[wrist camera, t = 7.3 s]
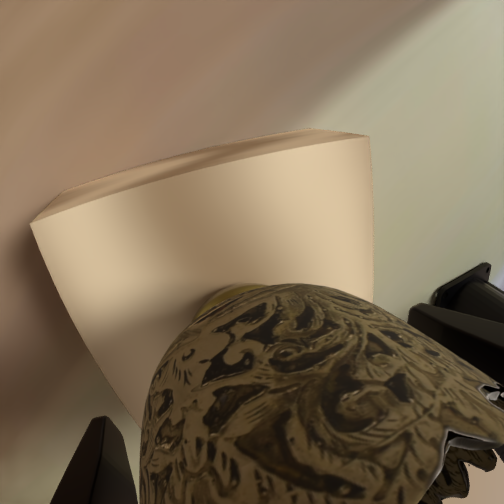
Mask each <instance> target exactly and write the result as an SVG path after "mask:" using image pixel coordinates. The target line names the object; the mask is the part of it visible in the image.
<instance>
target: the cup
mask: <svg viewBox="0 0 504 504" xmlns="http://www.w3.org/2000/svg"><path fill="white" fill-rule="evenodd" d="M503 444H504V386H502V385H501V384H499V383H498V382H496V381H495V380H493V379H492V378H490V377H489V376H487V375H486V374H484V373H483V372H481V371H480V370H478V369H477V368H475V367H474V366H472V365H471V364H469V363H468V362H466V361H465V360H463V359H462V358H460V357H459V356H457V355H456V354H454V353H453V352H451V351H450V350H448V349H447V348H445V347H443V346H442V345H440V344H439V343H437V342H436V341H434V340H433V339H431V338H429V337H428V336H426V335H425V334H423V333H422V332H420V331H418V330H417V329H415V328H414V327H412V326H410V325H409V324H407V323H406V322H404V321H402V320H401V319H399V318H398V317H396V316H394V315H392V314H391V313H389V312H387V311H385V310H384V309H382V308H380V307H378V306H376V305H374V304H372V303H370V302H368V301H366V300H364V299H362V298H359V297H357V296H354V295H352V294H349V293H346V292H344V291H341V290H338V289H335V288H330V287H326V286H320V285H313V284H304V283H287V284H278V285H271V286H270V285H265V284H260V283H242V284H237V285H233V286H230V287H227V288H225V289H223V290H221V291H219V292H217V293H215V294H214V295H212V296H211V297H210V298H209V299H207V300H206V301H205V302H204V303H203V304H202V305H201V307H200V308H199V309H198V310H197V312H196V314H195V315H194V317H193V319H192V321H191V323H190V324H189V325H188V326H187V327H186V328H185V329H184V330H183V331H182V332H181V333H180V334H179V335H178V336H177V337H176V339H175V340H174V341H173V342H172V343H171V345H170V346H169V348H168V349H167V351H166V352H165V354H164V355H163V357H162V359H161V361H160V363H159V364H158V366H157V368H156V371H155V373H154V375H153V377H152V381H151V384H150V388H149V391H148V395H147V399H146V402H145V408H144V414H143V421H142V432H141V446H140V476H139V492H140V504H442V501H441V500H443V499H445V498H449V497H457V498H465V497H467V495H468V493H469V487H470V485H469V478H468V471H467V469H466V466H465V464H464V462H467V463H470V464H472V465H473V466H475V467H477V468H480V469H482V470H485V472H488V471H491V470H493V469H494V468H495V466H496V462H497V457H496V455H495V453H494V452H493V450H492V449H494V448H498V447H500V446H502V445H503ZM469 466H470V465H469Z"/></svg>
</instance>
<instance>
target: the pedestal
mask: <svg viewBox="0 0 504 504" xmlns="http://www.w3.org/2000/svg"><path fill="white" fill-rule="evenodd" d="M30 226H31V228H32V231H33V234H34V236H35V239H36V242H37V244H38V247H39V249H40V252H41V254H42V256H43V259H44V261H45V264H46V266H47V268H48V271H49V273H50V275H51V277H52V280H53V282H54V284H55V286H56V288H57V290H58V292H59V295H60V297H61V299H62V301H63V303H64V305H65V307H66V309H67V311H68V313H69V315H70V317H71V319H72V321H73V322H74V324H75V326H76V328H77V330H78V332H79V334H80V335H81V337H82V339H83V341H84V343H85V344H86V346H87V348H88V350H89V351H90V353H91V355H92V356H93V358H94V360H95V361H96V363H97V365H98V366H99V368H100V370H101V371H102V373H103V375H104V376H105V378H106V379H107V381H108V382H109V384H110V385H111V387H112V389H113V390H114V392H115V393H116V395H117V396H118V398H119V399H120V400H121V402H122V403H123V405H124V406H125V408H126V409H127V411H128V412H129V413H130V415H131V416H132V418H133V419H134V420H135V422H136V423H137V424H138V426H139V427H140V428H141V430H142V421H143V414H144V408H145V402H146V399H147V395H148V391H149V388H150V384H151V381H152V377H153V375H154V373H155V371H156V368H157V366H158V364H159V363H160V361H161V359H162V357H163V355H164V354H165V352H166V351H167V349H168V348H169V346H170V345H171V343H172V342H173V341H174V340H175V339H176V337H177V336H178V335H179V334H180V333H181V332H182V331H183V330H184V329H185V328H186V327H187V326H188V325H189V324H190V323H191V321H192V319H193V317H194V315H195V314H196V312H197V310H198V309H199V308H200V307H201V305H202V304H203V303H204V302H205V301H206V300H207V299H209V298H210V297H211V296H212V295H214V294H215V293H217V292H219V291H221V290H223V289H225V288H227V287H230V286H233V285H237V284H242V283H260V284H265V285H270V286H271V285H278V284H287V283H304V284H313V285H320V286H326V287H330V288H335V289H338V290H341V291H344V292H346V293H349V294H352V295H354V296H357V297H359V298H362V299H364V300H366V301H368V302H370V303H372V304H373V281H374V205H373V181H372V164H371V150H370V139H369V136H365V135H359V134H352V133H345V132H337V131H329V130H321V129H311V128H308V129H302V130H296V131H290V132H284V133H278V134H273V135H267V136H262V137H257V138H252V139H247V140H242V141H237V142H233V143H228V144H223V145H219V146H215V147H210V148H206V149H202V150H198V151H194V152H190V153H186V154H182V155H178V156H174V157H170V158H167V159H163V160H159V161H156V162H152V163H149V164H145V165H142V166H138V167H135V168H132V169H128V170H125V171H122V172H119V173H115V174H112V175H109V176H106V177H103V178H100V179H97V180H94V181H91V182H88V183H85V184H82V185H79V186H76V187H74V188H71V189H68V190H65V191H63V192H62V193H61V194H60V195H59V196H58V197H56V198H55V199H54V200H53V201H52V202H51V203H50V204H49V205H48V206H47V207H46V208H45V209H44V210H43V211H42V212H41V213H40V214H39V215H38V216H37V217H36V218H35V219H34V220H33V221H32V222H31V223H30Z"/></svg>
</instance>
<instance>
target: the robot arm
mask: <svg viewBox="0 0 504 504" xmlns="http://www.w3.org/2000/svg"><path fill="white" fill-rule="evenodd" d="M490 270H491V264H489V263H487V262H485V263H483V264H482V265H480V266H478V267H477V268H475V269H473V270H472V271H470V272H468V273H466V274H465V275H463V276H461V277H459V278H458V279H456V280H454V281H452V282H450V283H449V284H447V285H445V286H443V287H442V288H441V289H440V290H439V292H438V295H437V300H436V306H432V305H428V304H424V303H419V304H417V305H415V306H413V307H411V308H410V310H409V315H408V322H407V324H409V325H410V326H412V327H414V328H415V329H417V330H418V331H420V332H422V333H423V334H425V335H426V336H428V337H429V338H431V339H433V340H434V341H436V342H437V343H439V344H440V345H442V346H443V347H445V348H447V349H448V350H450V351H451V352H453V353H454V354H456V355H457V356H459V357H460V358H462V359H463V360H465V361H466V362H468V363H469V364H471V365H472V366H474V367H475V368H477V369H478V370H480V371H481V372H483V373H484V374H486V375H487V376H489V377H490V378H492V379H493V380H495V381H496V382H498V383H499V384H501V385H502V386H504V291H502V290H501V289H499V288H497V287H496V286H494V285H493V284H491V283H489V282H488V280H489V275H490ZM494 450H495V451H496V452H497V454H498V455H499V456H500V458H501V460H502V461H503V462H504V444H503V445H502V446H500V447H498V448H494ZM50 504H138V501H137V495H136V489H135V484H134V480H133V476H132V473H131V469H130V465H129V461H128V457H127V452H126V448H125V444H124V439H123V436H122V434H121V432H120V431H119V430H118V428H117V427H116V426H115V425H114V423H113V422H112V421H111V420H110V418H109V417H107V416H101V417H96V418H93V419H92V420H91V422H90V424H89V426H88V428H87V430H86V432H85V434H84V435H83V437H82V439H81V441H80V443H79V445H78V447H77V449H76V451H75V453H74V455H73V457H72V459H71V461H70V463H69V465H68V467H67V469H66V471H65V473H64V475H63V477H62V479H61V481H60V483H59V485H58V487H57V490H56V492H55V494H54V496H53V498H52V500H51V502H50Z"/></svg>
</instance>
